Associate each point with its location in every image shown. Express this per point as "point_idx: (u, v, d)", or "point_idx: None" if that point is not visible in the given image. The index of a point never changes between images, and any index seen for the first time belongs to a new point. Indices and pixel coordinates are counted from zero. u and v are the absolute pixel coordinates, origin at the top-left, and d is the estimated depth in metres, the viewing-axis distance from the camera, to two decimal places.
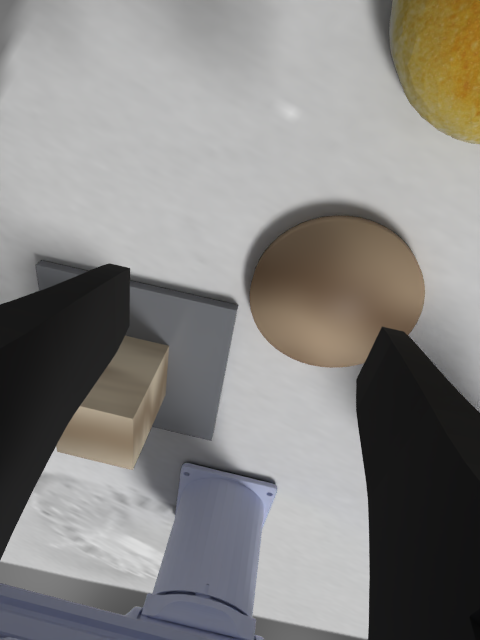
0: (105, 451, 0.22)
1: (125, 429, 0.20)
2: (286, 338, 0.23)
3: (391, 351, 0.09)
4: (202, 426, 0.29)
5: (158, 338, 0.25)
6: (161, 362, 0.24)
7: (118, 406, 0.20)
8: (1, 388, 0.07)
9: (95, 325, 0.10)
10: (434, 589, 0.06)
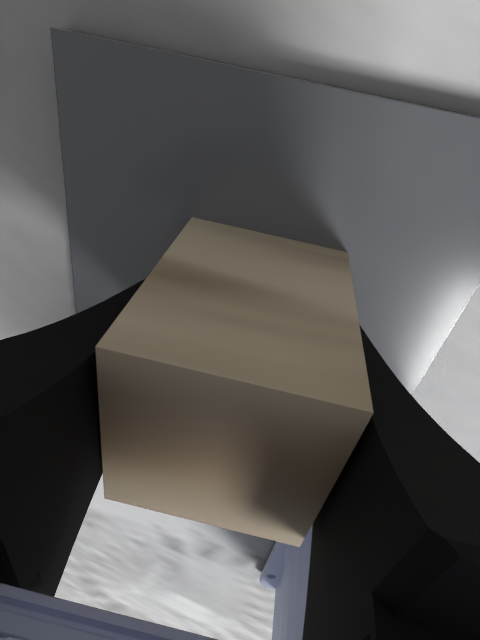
0: (240, 502, 0.08)
1: (328, 446, 0.07)
2: None
3: None
4: None
5: (326, 233, 0.11)
6: None
7: (310, 373, 0.07)
8: (75, 406, 0.06)
9: None
10: (351, 568, 0.06)
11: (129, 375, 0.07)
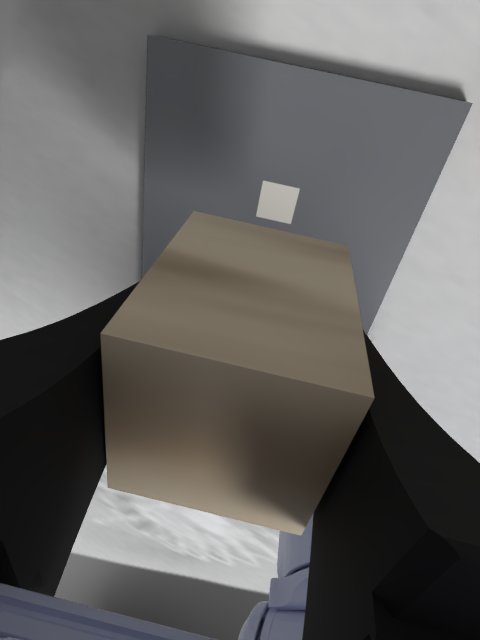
0: (242, 490, 0.08)
1: (329, 432, 0.07)
2: None
3: None
4: None
5: (322, 172, 0.16)
6: None
7: (312, 360, 0.07)
8: (75, 406, 0.06)
9: None
10: (351, 568, 0.06)
11: (133, 361, 0.07)
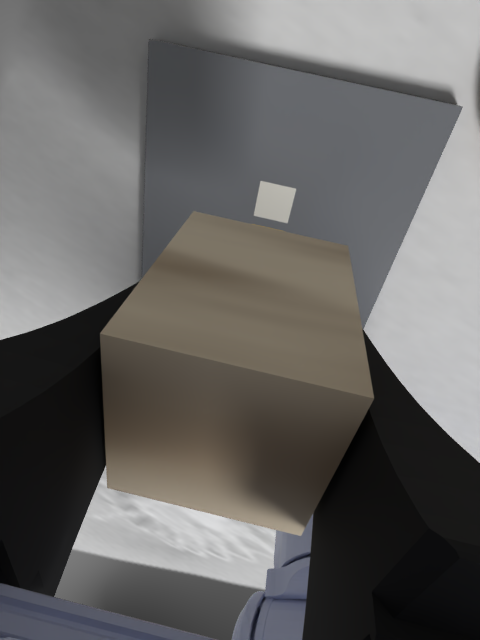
0: (241, 490, 0.08)
1: (329, 433, 0.07)
2: None
3: None
4: None
5: (318, 172, 0.17)
6: None
7: (311, 361, 0.07)
8: (75, 406, 0.06)
9: None
10: (351, 568, 0.06)
11: (132, 361, 0.07)
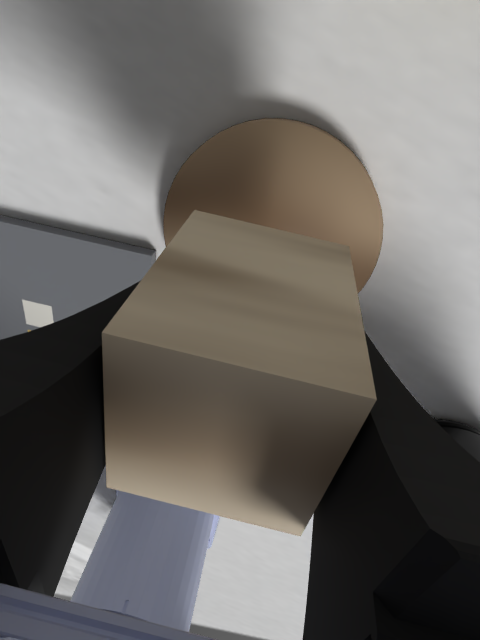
0: (242, 491, 0.08)
1: (330, 433, 0.07)
2: None
3: None
4: None
5: (63, 296, 0.20)
6: None
7: (314, 361, 0.07)
8: (74, 406, 0.06)
9: None
10: (352, 568, 0.06)
11: (134, 361, 0.07)
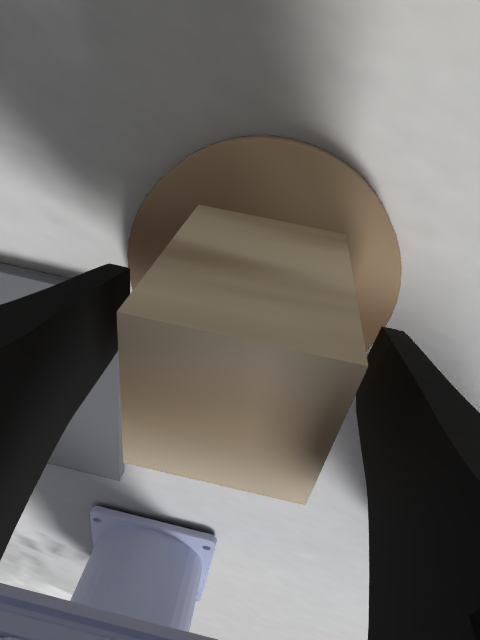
0: (249, 461, 0.09)
1: (328, 401, 0.07)
2: None
3: (391, 351, 0.09)
4: (104, 462, 0.21)
5: None
6: None
7: (310, 334, 0.07)
8: (1, 388, 0.07)
9: (95, 325, 0.10)
10: (434, 589, 0.06)
11: (146, 338, 0.07)
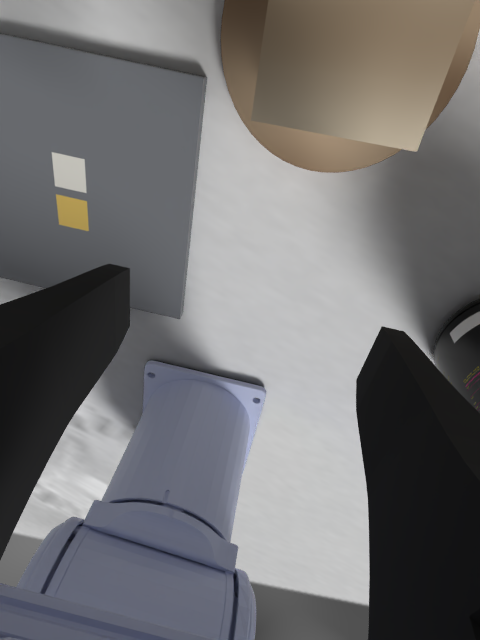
0: (373, 91, 0.10)
1: None
2: None
3: (391, 351, 0.09)
4: (167, 296, 0.22)
5: (99, 143, 0.18)
6: None
7: None
8: (1, 388, 0.07)
9: (95, 325, 0.10)
10: (434, 589, 0.06)
11: None
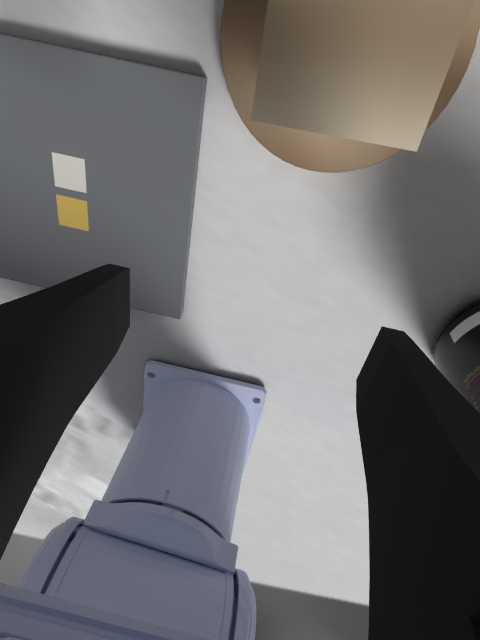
0: (373, 91, 0.10)
1: None
2: None
3: (391, 351, 0.09)
4: (167, 296, 0.22)
5: (99, 143, 0.18)
6: None
7: None
8: (1, 388, 0.07)
9: (95, 325, 0.10)
10: (434, 589, 0.06)
11: None
